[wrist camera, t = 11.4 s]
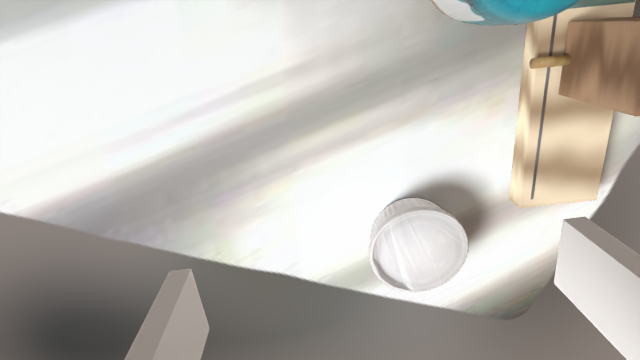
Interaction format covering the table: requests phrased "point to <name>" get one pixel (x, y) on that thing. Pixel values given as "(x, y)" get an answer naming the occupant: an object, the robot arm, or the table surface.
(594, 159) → the board
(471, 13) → the vase
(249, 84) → the table surface
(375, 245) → the ramekin
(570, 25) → the tan boxy wooden piece
